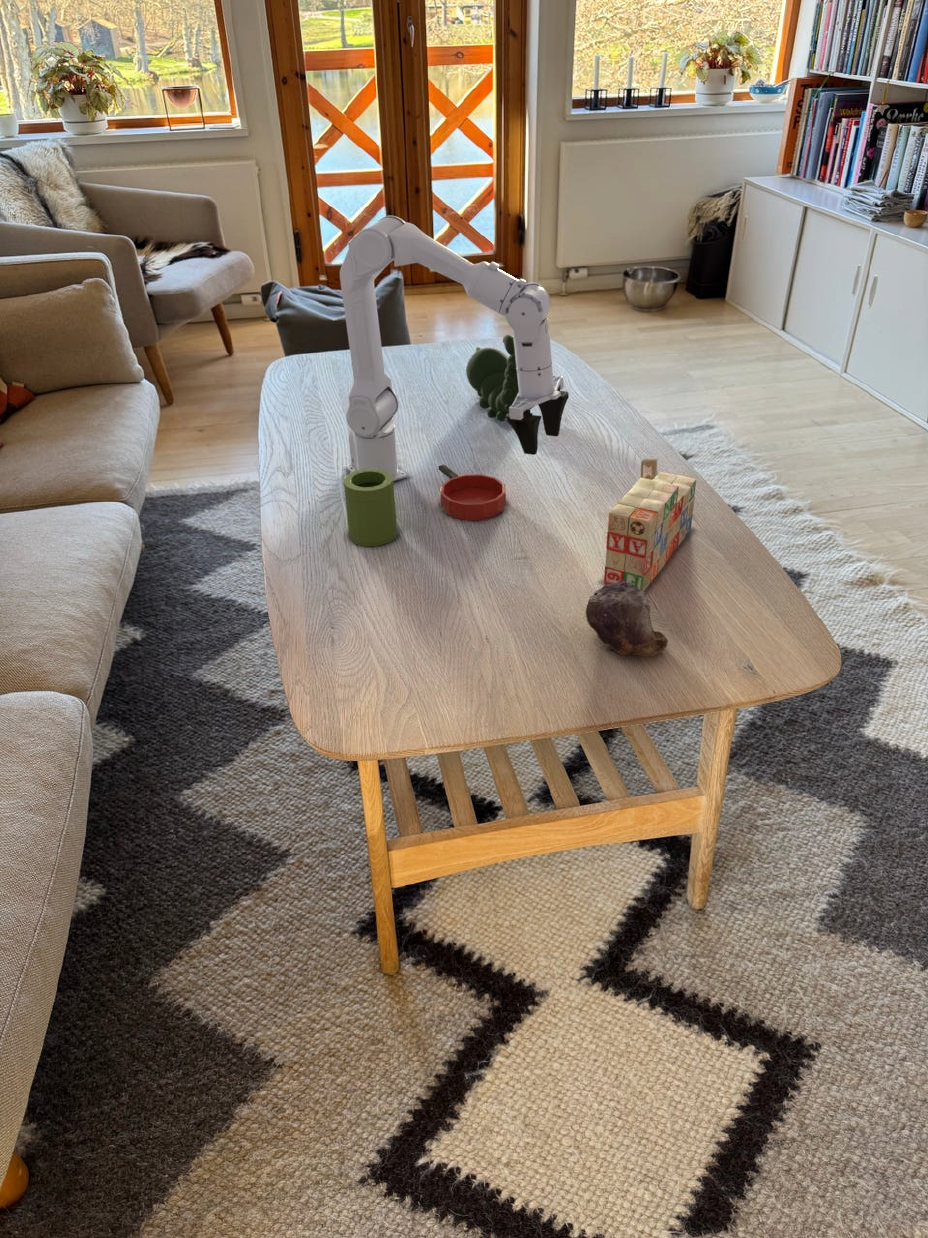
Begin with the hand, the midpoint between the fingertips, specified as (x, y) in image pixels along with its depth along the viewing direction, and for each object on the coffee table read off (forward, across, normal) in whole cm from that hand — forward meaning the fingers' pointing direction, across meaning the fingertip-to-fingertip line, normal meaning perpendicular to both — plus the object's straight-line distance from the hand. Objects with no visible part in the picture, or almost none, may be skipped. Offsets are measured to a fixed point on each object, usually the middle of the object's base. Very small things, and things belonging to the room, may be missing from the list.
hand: (541, 444), depth 158 cm
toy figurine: (+8, +29, +27) cm, 40 cm away
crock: (+7, -26, +18) cm, 32 cm away
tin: (+12, +3, -17) cm, 21 cm away
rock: (+12, -32, -29) cm, 45 cm away
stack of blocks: (+12, -9, -23) cm, 28 cm away
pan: (+8, -7, +12) cm, 16 cm away
